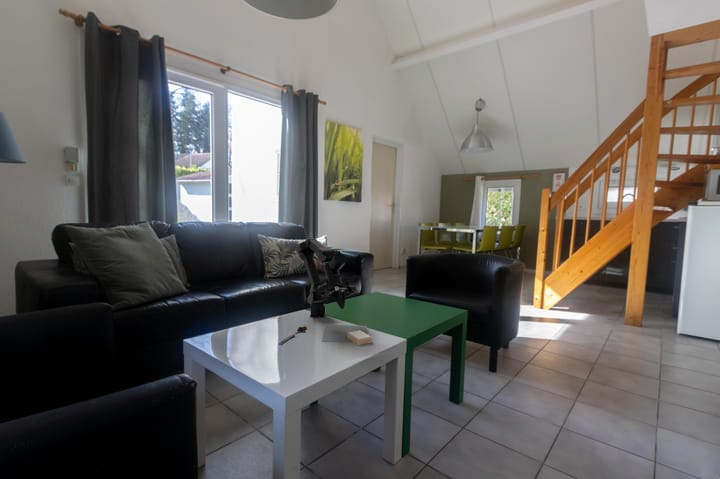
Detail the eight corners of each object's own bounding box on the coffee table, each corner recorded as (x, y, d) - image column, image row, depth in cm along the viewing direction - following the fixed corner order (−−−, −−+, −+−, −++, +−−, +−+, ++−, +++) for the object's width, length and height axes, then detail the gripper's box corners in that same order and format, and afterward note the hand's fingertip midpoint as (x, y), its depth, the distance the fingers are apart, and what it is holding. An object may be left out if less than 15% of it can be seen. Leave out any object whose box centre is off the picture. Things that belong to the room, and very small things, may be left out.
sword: (278, 351, 124) (278, 345, 124) (269, 349, 125) (269, 343, 125) (311, 329, 148) (311, 325, 147) (303, 328, 149) (303, 324, 149)
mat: (321, 343, 132) (321, 341, 132) (325, 326, 152) (325, 324, 152) (369, 343, 132) (369, 342, 132) (366, 327, 152) (366, 325, 152)
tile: (346, 332, 137) (358, 339, 129) (360, 329, 140) (372, 336, 132) (346, 337, 137) (358, 345, 129) (359, 335, 140) (372, 342, 132)
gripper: (335, 284, 164) (344, 316, 157) (305, 281, 150) (313, 316, 144) (352, 274, 159) (362, 306, 152) (321, 270, 145) (331, 305, 138)
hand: (342, 308), depth 146 cm, fingers closed
